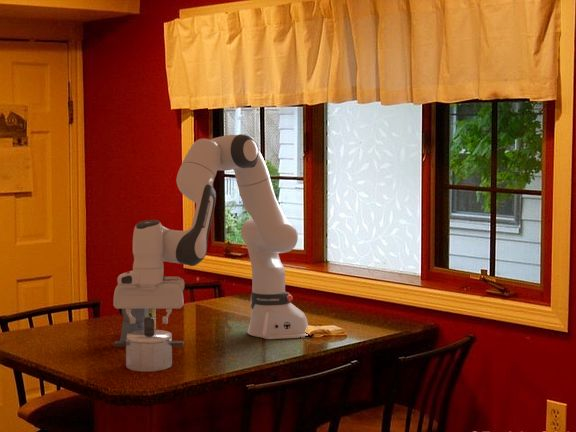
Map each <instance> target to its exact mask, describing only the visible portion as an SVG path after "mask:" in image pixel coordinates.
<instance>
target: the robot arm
mask: <svg viewBox="0 0 576 432" xmlns="http://www.w3.org/2000/svg"><path fill="white" fill-rule="evenodd" d="M232 170H233V172H234V177H235V181H236V185H237V187H238V191H239V196H240V198H241V202H242V205H243V207H244V209H245V210H246V212H247V213H248V214H249V215H250V217H251V218H248V219H247V220H245V221H244V222H243V224H242V226H241V230H240V235H241V239H242V240H243V242H244V244H245V245H246V248H247V252H248V257H249V260H250V265H251V281H252V282H251V283H252V286H251V289H252V291H251V292H250V308H251V313H250V321H249V325H248V328H247V334H248V335H250V336H253V337H257V338H263V339H265V340H277V339H280V340H281V339H296V338H297V339H298V338H300V337H301V338H306V337H305V336H308V334H306V333H305V330H306V328H307V327H308V326H309V324H308V323H309V322H308V319H307V317H306V314H305V313H304V312H303V311H302V310H301V309H300V308H298V307H296V305H294V304H293V303H292V301H293V299H294V298H293V295H292V294H291V293H289V292H288V291H286V269H285V265H283V263H282V262H281V261H282V260H281V258H280V255H279V254H285V253H289V252H291V251H293V250H294V248H295V247H296V245H298V244H297V243H298V241H299V240H298V237H299V235H298V232H297V229H296V228H295V226H293V225H292V224H291V222H290V221H289V220H288V218H287V216H286V215H285V212H284V210H283V209H282V207H281V206H280V204H279V201H278V199H277V197H276V194H275V190H274V187H273V183H272V180H271V176H270V172H269V170H268V167H267V165H266V161H265V160H264V157H263V155H262V153H261V151H260V150H259V145H258V143H257V141H256V140H255V138H253V137H252V136H251V135H248V134H241V133H240V134H227V135H223V136H218V137H214V138H213V137H212V138H210V137H209V138H199V139H197V140H195V141H194V142H193V144H192V145H191V146H190V148H189V149H188V151H187V153H186V154H185V156H184V158H183V160H182V163H181V165H180V167H179V170H178V172H177V175H176V185H177V188H178V190H179V192H180V193H181V195H183V196H184V197H186V198H187V199H188V200H190V201H192V202H193V203H195V209H194V214H193V217H192V218H193V219H192V223H191V226H190V228H189V229H187V230H175V229H170V228H167V227H165V225H164V226H163V224H162V223H161V221H159V220H157V219H148V220H142V221H139V222H137V223H136V224H135V226H134V229H133V233H132V234H133V235H132V254H133V264H132V270H130V271H127V272H123V273H121V274H119V275H118V276H117V280H116V281H117V285H116V287H115V289H114V294H113V307H114V308H115V309H117V310H119V309H126V313H127V315H128V317H129V318H130V324H135V322H136V320H135V317H133V316H132V315H131V313H130V312H131V309H156V310H157V309H162V310H163V309H165V311H166V315H165V316H162V324H164V325H165V324H166V325H167V324H168V322H169V317H170V315H171V313H172V311H173V309H182V307H183V306H184V293H183V292H184V290H185V281H184V279H183V278H181V277H180V276H176V275H175V276H170V275H169V276H165V275H164V273H165V271H164V262H168V263H171V264H172V263H173V264H175V263H176V264H181V265H185V266H190V267H194V266H197V265H199V264H200V263H201V262H202V261H203V260H204V259H205V257H206V255H207V252H208V243H209V242H208V240H209V235H210V230H211V226H212V220H213V216H214V212H215V207H216V201H217V193H216V190H215V188H214V187H213V186H214V185H213V184H214V181H215V178H216V176H217V174H218V173H217V172H218V171H232Z"/></svg>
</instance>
